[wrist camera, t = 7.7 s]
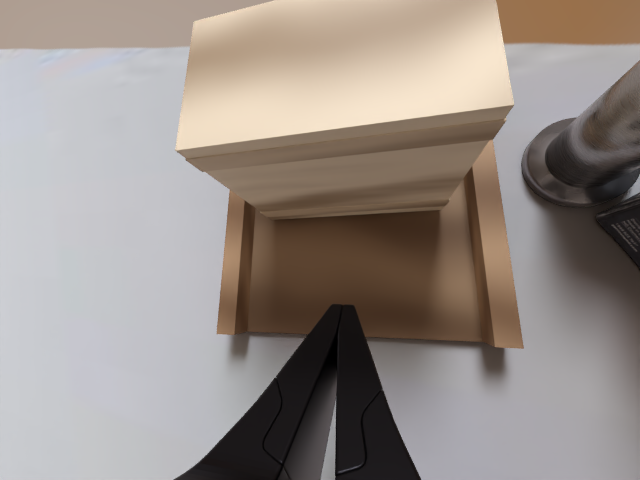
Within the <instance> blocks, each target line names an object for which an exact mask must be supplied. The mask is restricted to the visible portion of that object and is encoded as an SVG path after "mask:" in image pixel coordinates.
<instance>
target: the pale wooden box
mask: <svg viewBox="0 0 640 480" xmlns="http://www.w3.org/2000/svg"><path fill="white" fill-rule="evenodd" d="M513 106H514V101H513V95H512V90H511V84H510V78H509V72H508V67H507V61H506V55H505V49H504V44H503V38H502V32H501V27H500V21H499V15H498V9H497V4H496V0H275V1H271V2H267V3H263V4H259V5H256V6H252V7H248V8H244V9H240V10H236V11H233V12H229V13H225V14H221V15H217V16H213V17H209V18H205V19H202V20H198V21H195V22H194V25H193V32H192V38H191V45H190V52H189V59H188V66H187V73H186V80H185V86H184V93H183V100H182V107H181V114H180V121H179V128H178V135H177V142H176V149H175V151H177V152H178V153H180V154H181V155H182V156H184V157H185V158H186V161H188V162H189V163H191V164H192V165H193V166H195V167H196V168H198V169H199V170H200V171H202V172H206V173H207V174H209V175H210V176H212V177H213V178H214V179H216V180H217V181H219V182H220V183H221V184H223V185H224V186H226V187H227V188H228V189H230V190H231V191H233V192H234V193H235V194H237V195H238V196H240V197H241V198H242V199H244V200H245V201H247V202H248V203H249V204H251V205H252V206H254V207H255V208H256V209H258V210H259V211H260V213H262V214H263V215H264V216H266V217H269V218H270V219H272V220H279V219H295V218H312V217H329V216H346V215H363V214H380V213H397V212H414V211H430V210H442V209H443V207H444V206H446V205H447V204H448V202H449V201H450V197H451V196H452V194H453V193H454V191H455V190H456V188H457V187H458V185H459V184H460V183H461V181H462V180H463V178H464V177H465V175H466V174H467V172H468V171H469V170H470V168H471V167H472V165H473V164H474V162H475V161H476V159H477V158H478V156H479V155H480V154H481V152H482V151H483V149H484V148H485V146H486V145H487V143H488V142H489V140H493V139H494V137H495V136H496V134H497V133H498V132H499V130H500V129H501V127H502V126H503V124H504V123H505V122H506V116H507V114H508V113H509V111H510V110H511V109H512V107H513Z"/></svg>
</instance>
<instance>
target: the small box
mask: <svg viewBox="0 0 640 480" xmlns="http://www.w3.org/2000/svg"><path fill="white" fill-rule="evenodd" d="M596 217H597V220H598V221H599V222H600V224H601V226H602V227H603V228H604V229H606V231H607V232H609V233H610V234H611V235H612V236H613V237H614V239H615V241H617V242H618V243H619V244H620V246H621V247H622V248H623V249H624V250H625V251H626V252H627V253H628V254H629V256H630V257H631V258H632V259H633V260H634V261H635V263H636V264H637V265H638V266H639V267H640V193H638V194H636V195H634V196H632V197H630V198H629V199H627V200H625V201H623V202H621V203H619V204H617V205H615V206H613V207H611V208H609V209H607V210H605V211H603V212H601V213H598V214H597V215H596Z"/></svg>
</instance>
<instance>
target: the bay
mask: <svg viewBox="0 0 640 480" xmlns="http://www.w3.org/2000/svg"><path fill="white" fill-rule="evenodd" d="M331 304H342V305H344V304H352V305H354V306H355V308H356V311H357V314H358V317H359V320H360V323H361V326H362V329H363V332H364V335H365V337H383V338H406V339H429V340H452V341H475V342H484V343H487V344H489V345H491V346H494V347H501V348H522V349H524V347H523V341H522V334H521V327H520V320H519V314H518V307H517V300H516V293H515V287H514V280H513V273H512V266H511V260H510V253H509V246H508V240H507V233H506V226H505V219H504V213H503V206H502V199H501V192H500V186H499V179H498V172H497V165H496V159H495V152H494V145H493V140H489V142H488V143H487V145H486V146H485V148H484V149H483V151H482V152H481V154H480V155H479V156H478V158H477V159H476V161H475V162H474V164H473V165H472V167H471V168H470V170H469V171H468V172H467V174H466V175H465V177H464V178H463V180H462V181H461V183H460V184H459V185H458V187H457V188H456V190H455V191H454V193H453V194H452V196H451V197H450V201H449V202H448V204H447V205H446V206H444V207H443V209H442V210H430V211H414V212H397V213H380V214H363V215H346V216H329V217H312V218H295V219H279V220H272V219H270V218H269V217H266V216H264V215H263V214H262V213H260V211H259V210H258V209H256V208H255V207H254V206H252V205H251V204H249V203H248V202H247V201H245V200H244V199H242V198H241V197H240V196H238V195H237V194H235V193H234V192H233V191H231V190H230V193H229V204H228V215H227V226H226V237H225V248H224V259H223V270H222V280H221V291H220V302H219V313H218V324H217V334H227V335H236V334H240V333H243V332H269V333H292V334H309V333H310V332H311V330H312V329H313V328H314V326H315V325H316V324H317V322H318V321H319V320H320V318H321V317H322V316H323V315H324V313H325V312H326V311H327V309H328V308H329V307H330V305H331Z"/></svg>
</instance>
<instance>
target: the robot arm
mask: <svg viewBox="0 0 640 480" xmlns="http://www.w3.org/2000/svg"><path fill="white" fill-rule="evenodd" d="M276 378H277V379H276ZM276 378H274V380H273V381H272V382H271V384H270V385H269V386H268V387H267V389H266V390H265V391H264V392H263V394H262V395H261V396H260V397H259V399H258V400H257V401H256V402H255V403H254V404H253V406H252V407H251V408H250V409H249V410H248V411H247V412H246V413H245V414H244V416H243V417H242V418H241V419H240V420H239V421H238V422H237V423H236V424H235V425H234V426H233V427H232V428H231V429H230V431H229V432H228V433H227V434H226V435H225V436H224V437H223V438H222V439H221V440H220V441H219V442H218V443H217V444H216V445H215V447H214V448H213V449H212V450H211V451H210V452H209V453H208V454H207V455H206V456H205V457H204V458H203V459H202V460H201V461H200V462H198V463H197V464H196V465H195V466H193V467H192V468H191V469H190V470H188V471H187V472H185V473H184V474H182V475H181V476H179V477H177V478H176V479H174V480H320V478H321V473H322V468H323V462H324V457H325V452H326V447H327V442H328V436H329V431H330V426H331V421H332V415H333V410H334V405H335V400H336V459H335V476H336V478H335V480H421V478H420V476H419V474H418V472H417V470H416V467H415V465H414V463H413V461H412V459H411V457H410V455H409V453H408V450H407V448H406V446H405V444H404V442H403V440H402V437H401V435H400V433H399V431H398V428H397V426H396V424H395V421H394V419H393V416H392V413H391V411H390V408H389V405H388V403H387V400H386V397H385V394H384V391H383V388H382V385H381V382H380V379H379V376H378V373H377V370H376V367H375V364H374V361H373V358H372V355H371V352H370V350H369V347H368V344H367V341H366V338H365V335H364V332H363V329H362V326H361V323H360V320H359V317H358V314H357V311H356V308H355V306H354V305H352V304H344V305H342V304H331V305H330V307H329V308H328V309H327V311H326V312H325V313H324V315H323V316H322V317H321V318H320V320H319V321H318V322H317V324H316V325H315V326H314V328H313V329H312V330H311V332H310V333H309V334H308V335H307V337H306V338H305V339H304V341H303V342H302V343H301V345H300V346H299V347H298V348H297V350H296V351H295V352H294V354H293V355H292V356H291V358H290V359H289V360H288V361H287V363H286V364H285V365H284V367H283V368H282V369H281V371H280V372H279V373H278V375H277V376H276Z"/></svg>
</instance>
